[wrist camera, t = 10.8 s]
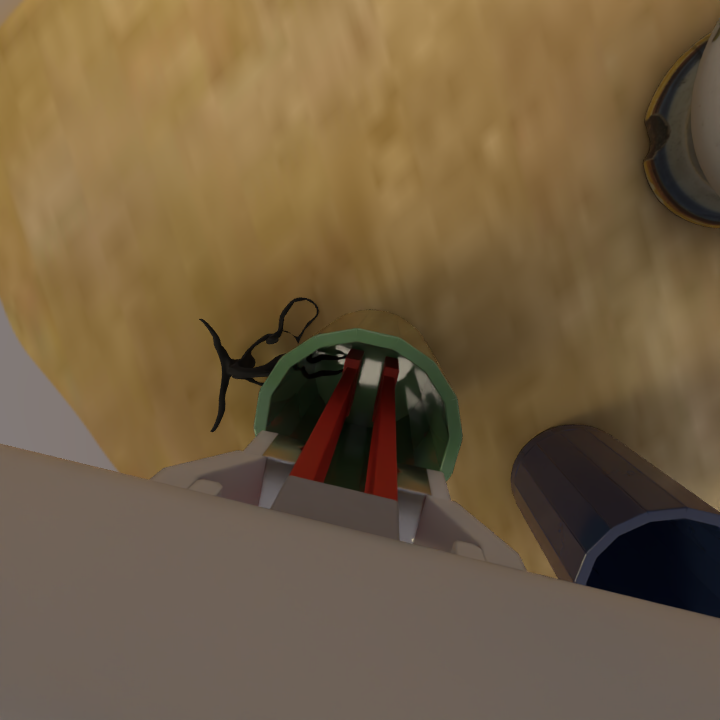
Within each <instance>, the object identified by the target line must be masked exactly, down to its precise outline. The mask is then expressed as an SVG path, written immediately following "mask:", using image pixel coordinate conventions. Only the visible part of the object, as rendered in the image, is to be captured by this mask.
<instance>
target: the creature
mask: <svg viewBox="0 0 720 720" xmlns="http://www.w3.org/2000/svg"><path fill="white" fill-rule="evenodd" d="M302 300H307V301H309V302H311V303H313V304H314V305H315V307H316V308H317V314H316V316H315V317H314V318H313V319H312V320H311V321H309V322H308V323H307V325H306V326H305V328H304V329H303V331H302V332H301V334H300V335H299V336H298V337H296V336H294V337H295V338H296V340H297V342H298V343H299V341H300V338H301V336H302V334H303V332H304V330H305V329H306V328H307V327H308V326H309V325H310V323H311V322H312V321H313V320H314V319H315V318H316V317H317V315H318V312H319V310H318V307H317V305H316V304H315V303H314V302H313V301H311V300H310V299H307V298H301V297H300V298H296V299H294V300H292V301H291V302H290V303H289V304H288V305H287V306H286V307H285V309H284V310H283V311H282V313H281V315H280V319H279V328H278V331H277V332H276V333H274V334H267V335H265V336H263V337H261V338H260V339H259V340H257V341H256V342H255V343H254V344H253V345H252V346H251V347H250V348H249V349H248V350H247V351H246V352H245V354H244V355H243V356H242V358H241V359H236V360H234V359H231V358H230V357H229V355H228V353H227V351H226V350H225V349H224V347H223V346H222V345H221V342H220V339H219V336H218V335H217V333H216V332H215V331H214V330H213V328H212V327H211V326H210V325H209V324H208V323H207V322H206V321H205V320H203V319H199V320H201V321H202V322H203V323H204V324H205V326H206V327H207V328H208V330H209V331H210V333H211V335H212V336H213V341H214V346H215V348H216V350H217V353H218V355H219V358H220V361H221V366H222V381H221V388H220V395H219V410H218V416H217V419H216V422H215V424H214V426H213V428H212V430H211V431H210V432H214V431H215V430H216V429H217V427H218V425H219V423H220V421H221V419H222V417H223V414H224V411H225V394H226V390H227V387H228V384H229V379H230V377H231V376H232V377H233V378H235V379H246V380H248V381H249V382H252V383H255V384H258V385H260V386H262V385H263V384H264V383H260V382H257V381H255V380H254V379H253V377H268V376H269V375H270V373H271V372H272V370H273V368H274V367H275V365H276V364H277V362H278V361H279V359H280V358H281V357H282V356H283V355H285V354H286V353H285V354H281V355H279V356H277V357H275V358H274V359H273V360H271V361H270V362H269V363H267V364H265V365H263V366H259V367H255V368H253V367H254V366H255V363H256V362H255V359H254V358H253V356H252V355H251V351H252V350H253V348H254V347H255V346H257V345H258V344H259V343H261V342H263V341H265V340H266V339H267V340H266V343H267V344H274V343H276V342H278V340H279V337H280V336H281V334H282V331H283V323H284V317H285V315H286V314H287V312H288V311H289V309H290V308H291V306H292V305H293V303H294V302H297V301H302ZM284 332H287V331H284ZM287 333H289V332H287ZM290 334H291V333H290ZM345 358H346V356H343V357H338V356H332V355H328V354H320V355H318V356H317V357H314V358H312V360H311V364H312V363H317V362H320V361H321V360H340V359H345ZM341 372H343V369H341V370H338V371H332V370H321V371H318V372H316V373H312V374H309V375H308V379H312V378H318V377H321V376H332V375H338V374H339V373H341Z"/></svg>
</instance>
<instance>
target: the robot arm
mask: <svg viewBox="0 0 720 720" xmlns="http://www.w3.org/2000/svg"><path fill="white" fill-rule="evenodd" d="M306 442H307V441H304V440H300V439H296V438H292V437H288V436H284V435H280V434H278V433H273V432H268V431H263V430H262V431H261V432H260V433H259V434H258V435H257V436H256V437H255V438H254V440H253V441H252V442H251V443H250V444H249V445H248V446H247V447H246V449H245V450H244V451H239V450H237V451H233V452H229V453H225V454H221V455H216V456H212V457H208V458H204V459H200V460H195V461H191V462H187V463H183V464H179V465H174V466H170V467H166V468H163V469H162V470H161V471H159V472H158V473H157V474H156V475H154V476H153V477H152V478H151V479H149V480H148V479H144V478H140V477H136V476H131V475H127V474H123V473H119V472H115V471H111V470H107V469H103V468H98V467H94V466H90V465H86V464H82V463H78V462H74V461H70V460H65V459H61V458H57V457H53V456H49V455H44V454H40V453H36V452H32V451H28V450H24V449H20V448H16V447H12V446H8V445H3V444H0V720H720V618H717V617H713V616H708V615H704V614H700V613H696V612H692V611H688V610H684V609H680V608H675V607H671V606H667V605H663V604H659V603H655V602H651V601H647V600H642V599H638V598H634V597H630V596H626V595H622V594H618V593H614V592H609V591H605V590H601V589H597V588H593V587H589V586H585V585H581V584H576V583H572V582H568V581H564V580H560V579H556V578H552V577H548V576H543V575H539V574H535V573H531V572H527V571H526V568H525V566H524V564H523V562H522V560H521V558H520V556H519V554H518V553H517V552H516V551H515V550H513V549H512V548H511V547H510V546H509V545H507V544H506V543H505V542H504V541H502V540H501V539H500V538H499V537H498V536H496V535H495V534H494V533H493V532H492V531H490V530H489V529H488V528H487V527H486V526H484V525H483V524H482V523H481V522H480V521H478V520H477V519H476V518H475V517H474V516H472V515H471V514H470V513H469V512H468V511H466V510H465V509H464V508H463V507H462V506H460V505H459V504H458V503H457V502H454V501H451V498H450V494H449V491H448V487H447V484H446V480H445V477H444V473H442V472H440V471H435V470H429V469H426V468H422V467H418V466H413V465H408V464H403V463H399V462H397V490H398V505H399V537H400V541H399V540H395V539H391V538H387V537H383V536H379V535H374V534H370V533H366V532H362V531H358V530H354V529H350V528H346V527H342V526H337V525H333V524H329V523H325V522H321V521H317V520H313V519H309V518H304V517H300V516H296V515H292V514H288V513H284V512H280V511H276V510H272V509H270V508H271V506H272V504H273V502H274V500H275V499H276V497H277V495H278V493H279V491H280V489H281V487H282V486H283V484H284V482H285V480H286V478H287V477H288V476H289V474H290V472H291V471H292V469H293V467H294V465H295V463H296V461H297V459H298V457H299V456H300V454H301V452H302V450H303V448H304V446H305V444H306Z"/></svg>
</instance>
